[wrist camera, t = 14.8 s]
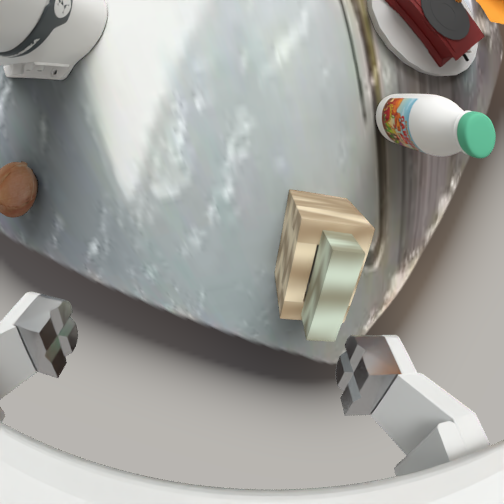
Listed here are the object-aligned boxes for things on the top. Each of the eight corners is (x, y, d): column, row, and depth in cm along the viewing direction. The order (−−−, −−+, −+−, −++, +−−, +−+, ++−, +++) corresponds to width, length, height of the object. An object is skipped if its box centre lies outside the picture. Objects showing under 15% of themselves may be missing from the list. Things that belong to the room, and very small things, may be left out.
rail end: (321, 298, 43) (334, 341, 35) (297, 296, 43) (306, 340, 35) (342, 221, 38) (365, 253, 29) (315, 217, 37) (332, 249, 29)
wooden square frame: (326, 277, 51) (343, 322, 40) (274, 272, 50) (280, 318, 39) (346, 198, 44) (374, 229, 34) (289, 189, 44) (301, 218, 33)
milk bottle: (391, 83, 36) (476, 80, 18) (425, 116, 38) (514, 136, 20) (364, 121, 39) (440, 137, 21) (400, 153, 41) (482, 190, 23)
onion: (26, 185, 45) (-16, 204, 38) (28, 145, 40) (-19, 162, 32) (46, 215, 45) (2, 238, 37) (49, 173, 39) (-3, 195, 31)
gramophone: (414, -47, 24) (499, -99, 1) (487, 44, 30) (592, 44, 8) (338, -3, 30) (416, -81, 8) (426, 99, 37) (549, 117, 14)
